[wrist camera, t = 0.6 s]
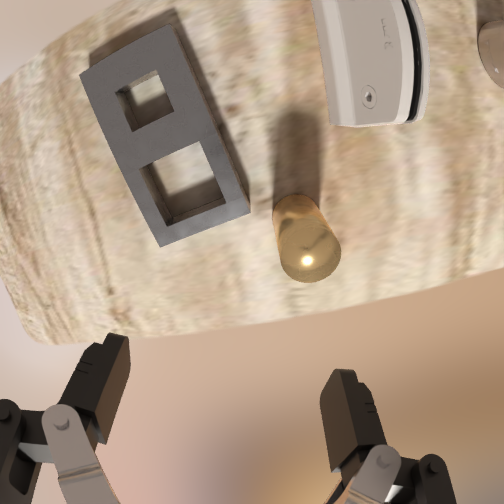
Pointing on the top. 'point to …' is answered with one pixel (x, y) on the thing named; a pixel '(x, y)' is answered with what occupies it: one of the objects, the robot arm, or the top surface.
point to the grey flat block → (162, 131)
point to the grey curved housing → (373, 61)
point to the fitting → (304, 239)
